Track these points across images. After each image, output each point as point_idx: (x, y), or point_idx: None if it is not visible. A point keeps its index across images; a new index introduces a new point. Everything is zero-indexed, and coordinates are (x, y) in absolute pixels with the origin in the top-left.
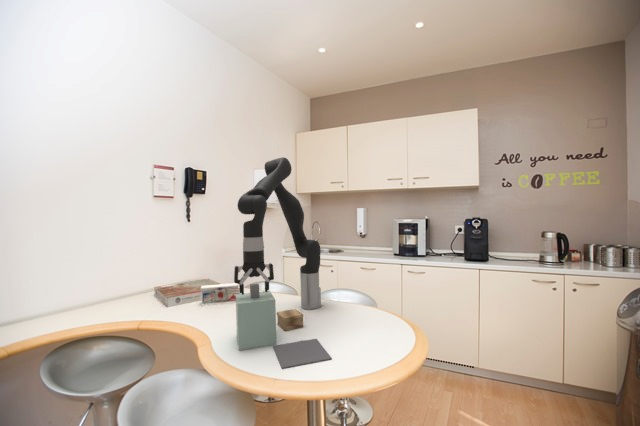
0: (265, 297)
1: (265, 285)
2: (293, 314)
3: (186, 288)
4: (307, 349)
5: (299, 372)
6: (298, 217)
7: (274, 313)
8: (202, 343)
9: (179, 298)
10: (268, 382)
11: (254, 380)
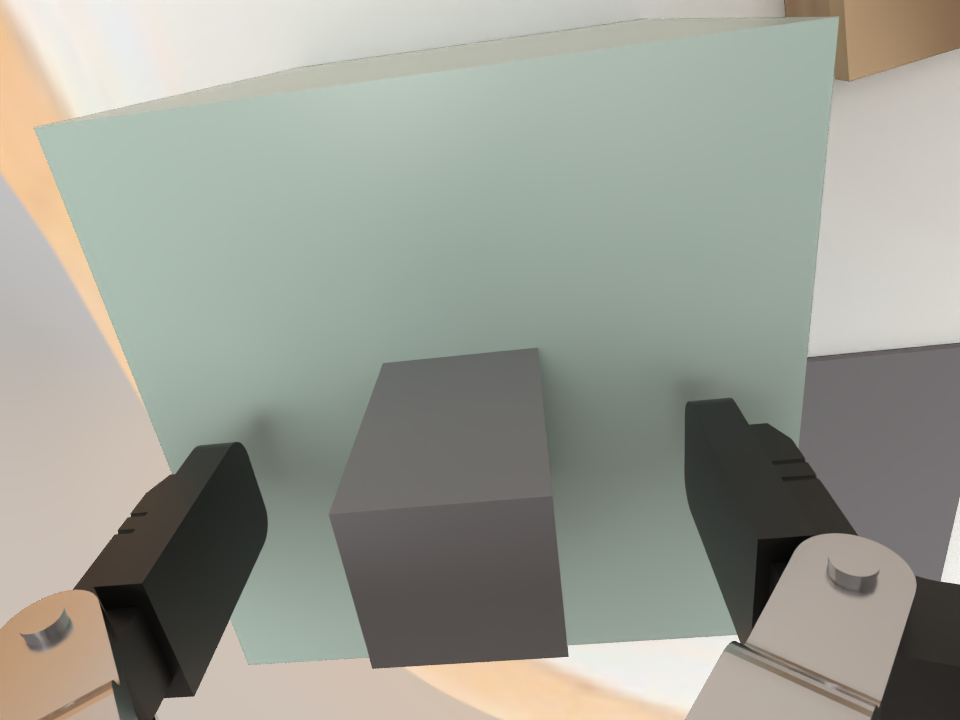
0: (653, 502)
1: (724, 599)
2: None
3: None
4: (843, 491)
5: (708, 667)
6: None
7: None
8: (19, 161)
9: None
10: (550, 699)
11: (487, 675)
